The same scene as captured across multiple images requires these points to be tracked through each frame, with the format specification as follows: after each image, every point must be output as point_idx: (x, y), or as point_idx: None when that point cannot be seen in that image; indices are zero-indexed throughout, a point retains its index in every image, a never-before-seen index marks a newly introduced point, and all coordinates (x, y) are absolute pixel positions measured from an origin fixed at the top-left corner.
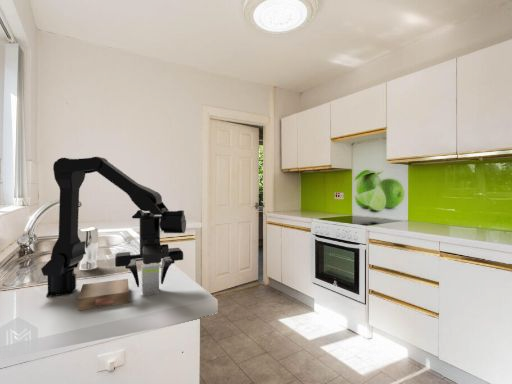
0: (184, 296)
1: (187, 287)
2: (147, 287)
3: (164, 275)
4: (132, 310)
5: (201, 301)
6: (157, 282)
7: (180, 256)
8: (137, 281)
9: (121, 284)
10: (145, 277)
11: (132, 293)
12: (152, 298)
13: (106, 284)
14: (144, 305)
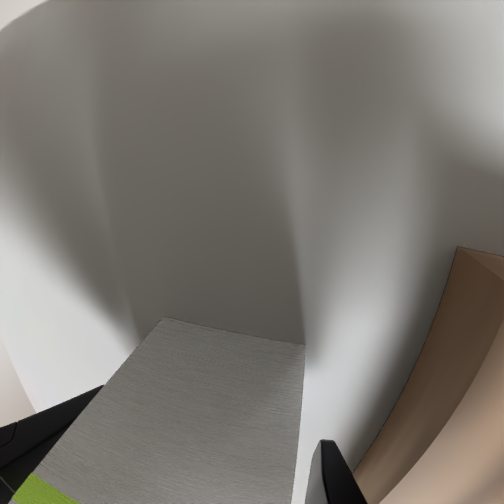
0: (28, 138)
1: (11, 293)
2: (249, 387)
3: (42, 419)
4: (459, 47)
5: (7, 30)
6: (124, 383)
7: None
8: (339, 485)
9: (436, 486)
10: (247, 496)
11: (356, 421)
12: (240, 225)
13: (487, 493)
14: (354, 81)
